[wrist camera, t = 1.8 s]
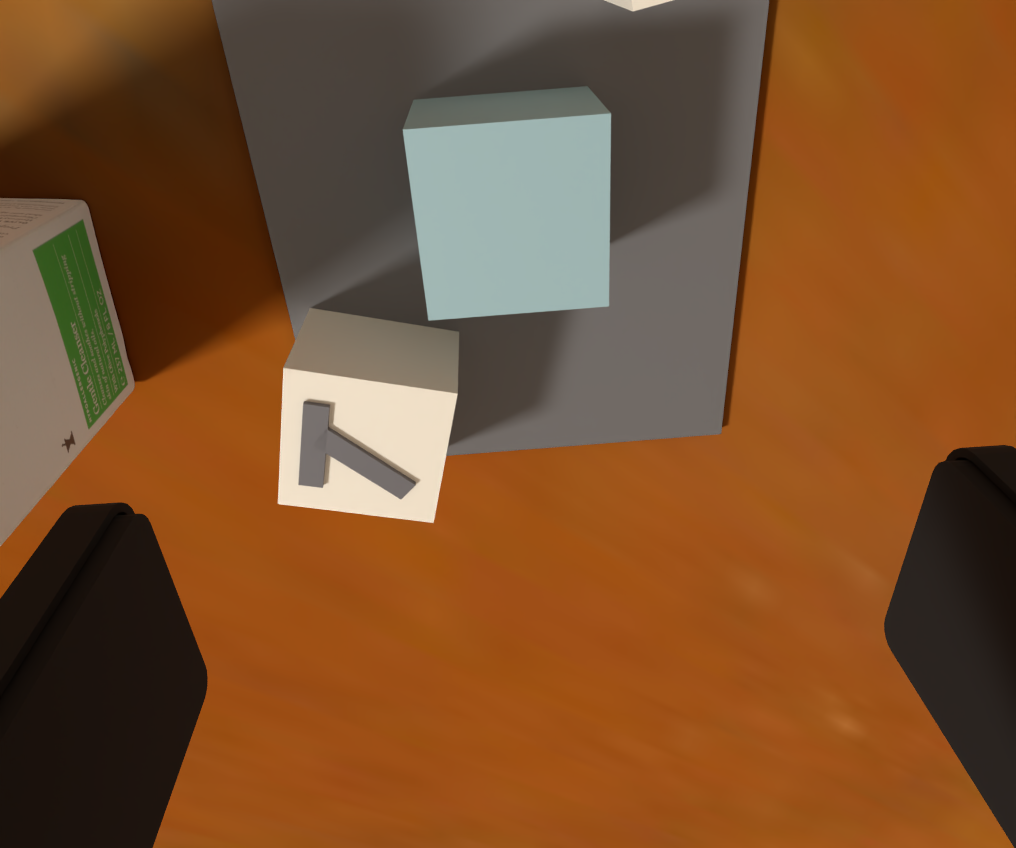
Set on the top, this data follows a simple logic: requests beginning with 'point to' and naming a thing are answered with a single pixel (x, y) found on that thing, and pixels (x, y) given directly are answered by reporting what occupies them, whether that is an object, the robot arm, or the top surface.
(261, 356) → the top surface
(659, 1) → the digit block one
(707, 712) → the top surface
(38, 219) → the skincare box
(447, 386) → the digit block seven
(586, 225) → the plain block
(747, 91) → the mat
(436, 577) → the top surface
